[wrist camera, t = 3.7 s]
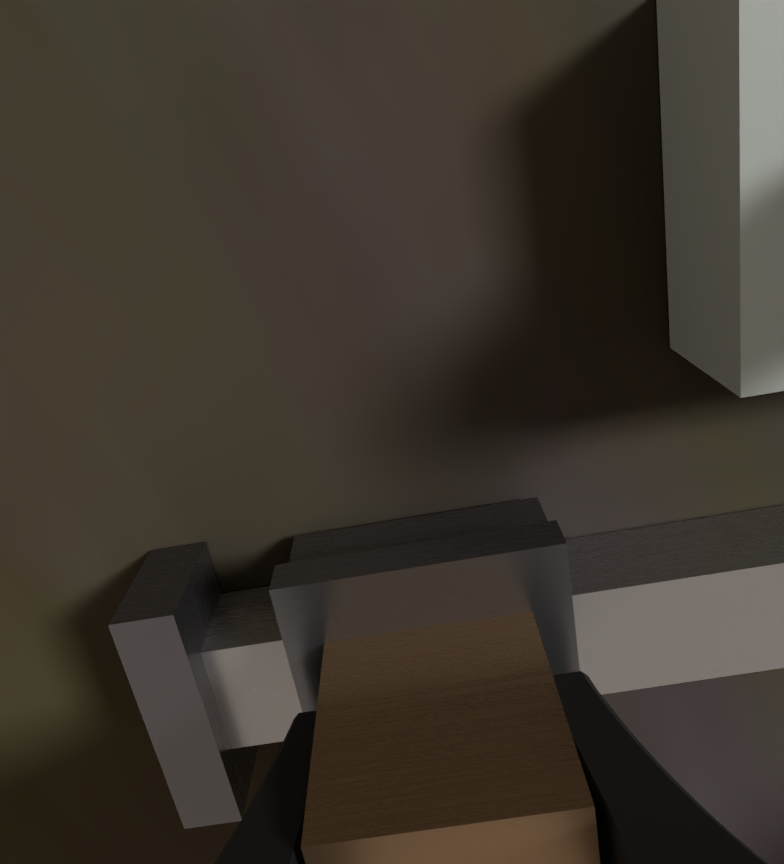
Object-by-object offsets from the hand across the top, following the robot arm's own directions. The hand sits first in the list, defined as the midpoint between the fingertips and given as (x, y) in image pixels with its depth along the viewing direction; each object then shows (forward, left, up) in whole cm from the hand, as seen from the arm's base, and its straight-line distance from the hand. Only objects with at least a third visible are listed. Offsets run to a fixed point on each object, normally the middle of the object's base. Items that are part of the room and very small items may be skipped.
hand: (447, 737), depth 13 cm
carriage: (0, 0, -4) cm, 4 cm away
